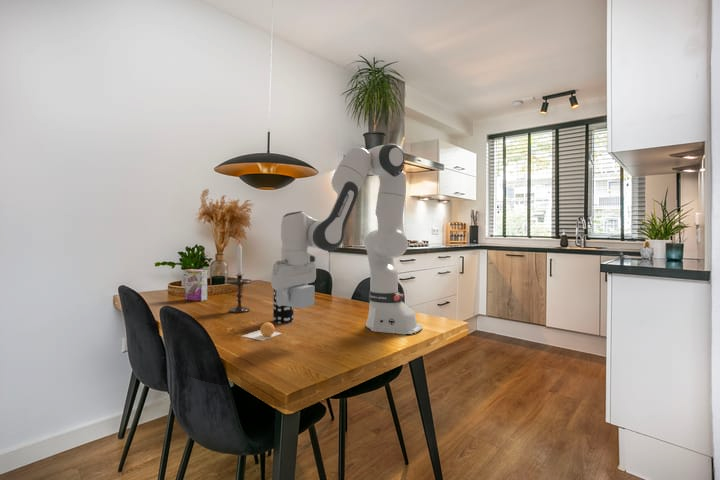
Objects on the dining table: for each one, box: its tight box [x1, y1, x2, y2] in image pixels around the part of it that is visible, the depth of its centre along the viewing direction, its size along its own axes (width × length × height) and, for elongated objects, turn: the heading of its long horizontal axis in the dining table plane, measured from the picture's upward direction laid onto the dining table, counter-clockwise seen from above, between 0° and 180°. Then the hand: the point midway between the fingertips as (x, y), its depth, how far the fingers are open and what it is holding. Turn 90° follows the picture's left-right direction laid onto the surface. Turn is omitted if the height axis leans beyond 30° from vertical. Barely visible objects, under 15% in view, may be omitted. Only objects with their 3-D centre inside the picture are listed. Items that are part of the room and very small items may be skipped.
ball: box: [259, 321, 276, 337], centre depth 130 cm, size 5×5×5 cm
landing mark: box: [241, 329, 283, 342], centre depth 132 cm, size 10×10×1 cm
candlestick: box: [226, 237, 253, 314], centre depth 170 cm, size 11×11×35 cm
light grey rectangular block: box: [276, 284, 316, 309], centre depth 124 cm, size 11×7×6 cm, turn 62°
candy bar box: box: [184, 268, 208, 302], centre depth 195 cm, size 11×5×16 cm, turn 72°
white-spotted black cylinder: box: [272, 289, 295, 324], centre depth 152 cm, size 8×8×20 cm
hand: (295, 298), depth 125 cm, fingers closed on light grey rectangular block, 7 cm apart
